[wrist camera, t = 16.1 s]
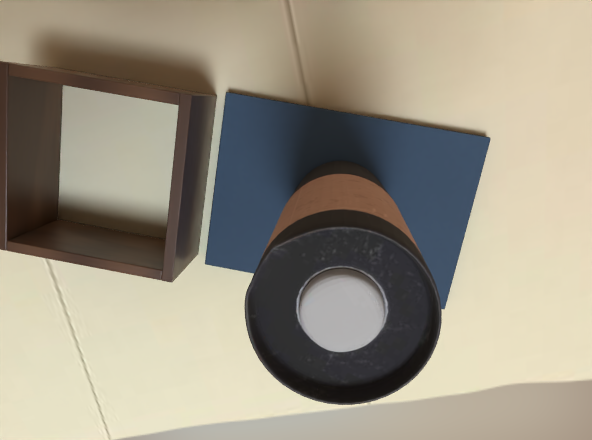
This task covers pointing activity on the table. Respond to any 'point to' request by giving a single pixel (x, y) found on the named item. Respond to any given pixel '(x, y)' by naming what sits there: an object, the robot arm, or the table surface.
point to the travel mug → (342, 292)
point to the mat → (338, 147)
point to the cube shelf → (45, 175)
